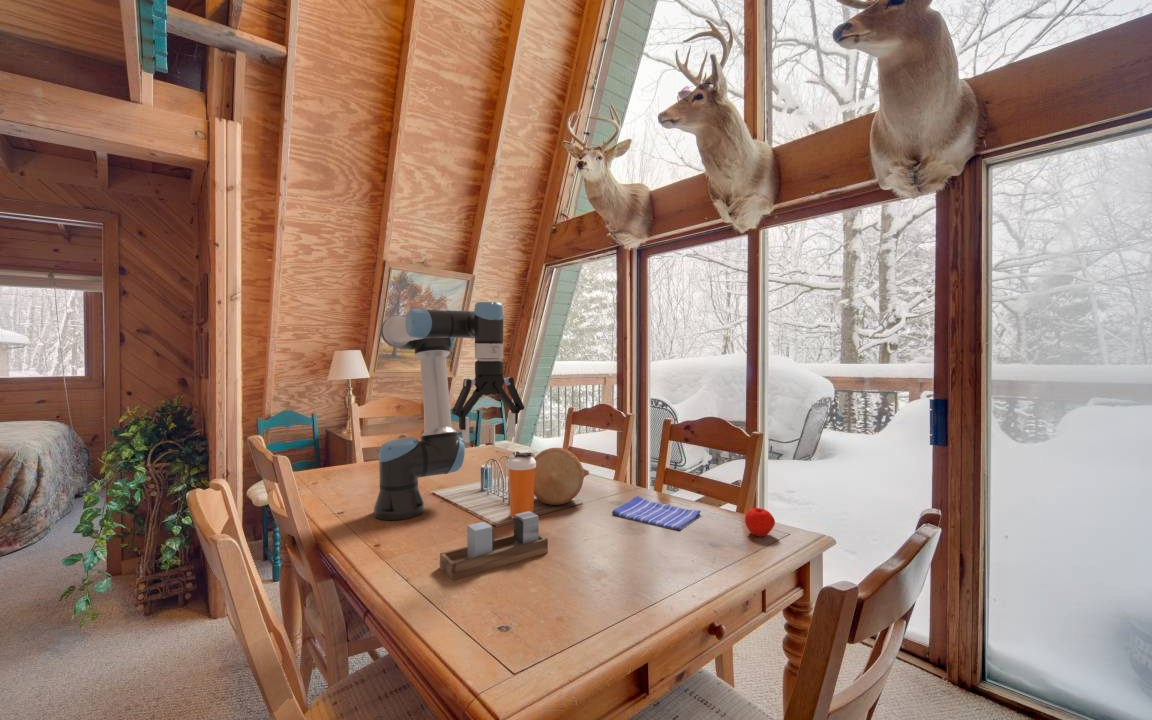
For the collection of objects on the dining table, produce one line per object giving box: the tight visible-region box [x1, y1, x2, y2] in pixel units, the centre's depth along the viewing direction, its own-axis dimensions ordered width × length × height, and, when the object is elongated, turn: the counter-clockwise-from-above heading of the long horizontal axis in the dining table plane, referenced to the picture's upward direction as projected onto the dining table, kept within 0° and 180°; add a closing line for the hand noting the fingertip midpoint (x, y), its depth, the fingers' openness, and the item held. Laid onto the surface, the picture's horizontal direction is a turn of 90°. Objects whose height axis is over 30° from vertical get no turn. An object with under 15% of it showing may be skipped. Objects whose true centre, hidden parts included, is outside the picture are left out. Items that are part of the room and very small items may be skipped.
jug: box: [533, 447, 590, 506], centre depth 180 cm, size 20×19×30 cm
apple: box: [744, 507, 776, 537], centre depth 145 cm, size 8×8×7 cm
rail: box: [439, 511, 549, 581], centre depth 127 cm, size 8×26×10 cm, turn 126°
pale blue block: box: [466, 521, 495, 559], centre depth 125 cm, size 4×5×8 cm
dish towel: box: [611, 495, 702, 531], centre depth 161 cm, size 17×24×3 cm
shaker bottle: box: [506, 450, 536, 519], centre depth 159 cm, size 9×9×20 cm
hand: (489, 439), depth 137 cm, fingers open, 13 cm apart
